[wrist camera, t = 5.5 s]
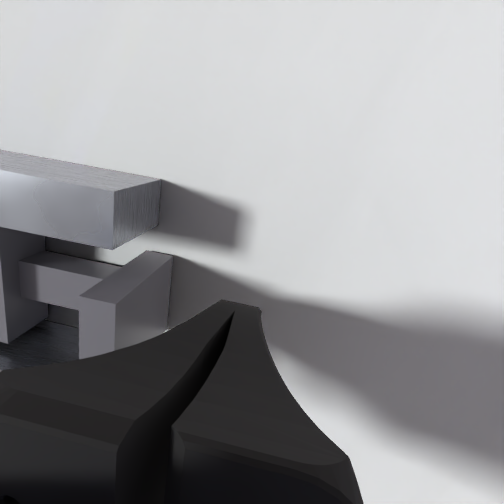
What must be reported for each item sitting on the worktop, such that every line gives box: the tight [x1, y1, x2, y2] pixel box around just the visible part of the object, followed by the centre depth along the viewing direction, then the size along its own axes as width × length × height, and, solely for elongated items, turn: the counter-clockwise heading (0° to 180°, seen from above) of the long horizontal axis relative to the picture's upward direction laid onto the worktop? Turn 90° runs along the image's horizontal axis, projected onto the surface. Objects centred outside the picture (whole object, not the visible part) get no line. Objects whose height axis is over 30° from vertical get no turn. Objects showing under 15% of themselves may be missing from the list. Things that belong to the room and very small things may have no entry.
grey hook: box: [0, 227, 173, 359], centre depth 12 cm, size 8×6×4 cm
